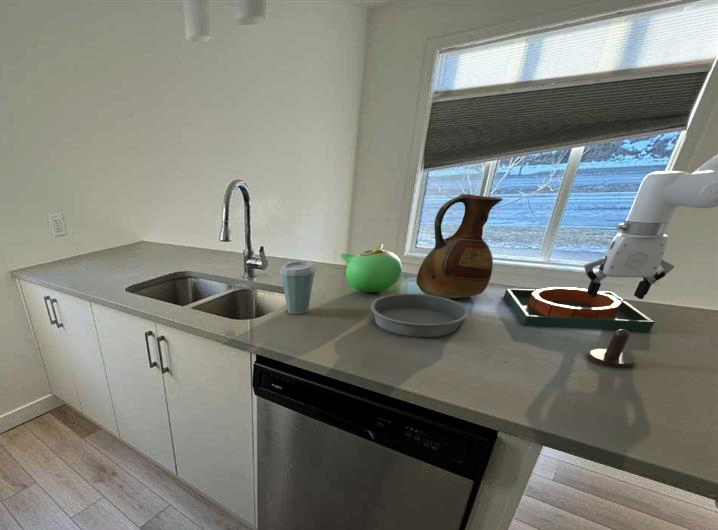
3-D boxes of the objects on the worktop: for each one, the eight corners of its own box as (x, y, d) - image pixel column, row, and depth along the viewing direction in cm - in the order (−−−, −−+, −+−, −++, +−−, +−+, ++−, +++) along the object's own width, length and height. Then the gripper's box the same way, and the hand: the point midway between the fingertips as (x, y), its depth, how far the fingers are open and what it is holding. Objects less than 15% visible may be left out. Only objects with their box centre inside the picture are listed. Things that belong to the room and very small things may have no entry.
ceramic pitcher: (496, 304, 121) (527, 195, 106) (424, 305, 125) (444, 200, 110) (470, 284, 138) (494, 188, 123) (407, 286, 141) (423, 193, 126)
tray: (608, 300, 117) (612, 291, 115) (649, 332, 98) (654, 322, 97) (503, 296, 126) (506, 288, 124) (523, 325, 107) (526, 316, 106)
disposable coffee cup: (298, 319, 124) (300, 270, 116) (272, 311, 131) (272, 265, 124) (320, 309, 129) (323, 262, 122) (294, 302, 137) (295, 257, 129)
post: (623, 354, 90) (638, 324, 87) (639, 369, 84) (655, 337, 81) (583, 351, 93) (595, 322, 89) (595, 365, 87) (609, 335, 83)
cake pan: (419, 348, 101) (422, 331, 98) (350, 319, 120) (352, 304, 118) (486, 326, 109) (490, 310, 106) (411, 302, 128) (414, 288, 126)
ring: (598, 300, 116) (603, 288, 114) (628, 324, 101) (634, 311, 99) (521, 298, 122) (525, 286, 120) (539, 320, 108) (543, 307, 106)
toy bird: (359, 301, 133) (364, 256, 125) (334, 287, 147) (338, 246, 140) (408, 293, 135) (416, 248, 128) (379, 280, 150) (385, 239, 142)
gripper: (605, 232, 98) (578, 300, 107) (701, 231, 92) (665, 302, 101) (593, 226, 104) (568, 291, 113) (682, 225, 98) (649, 293, 106)
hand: (614, 296), depth 107 cm, fingers open, 9 cm apart
